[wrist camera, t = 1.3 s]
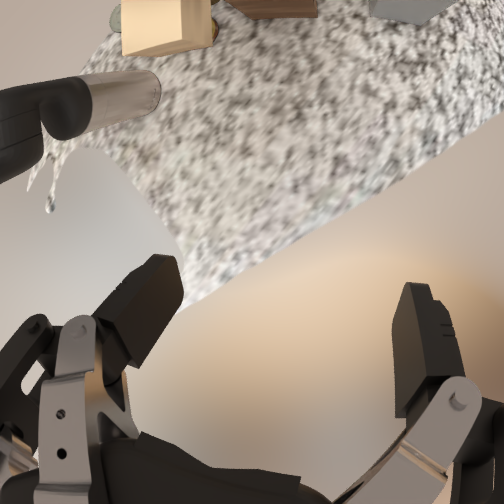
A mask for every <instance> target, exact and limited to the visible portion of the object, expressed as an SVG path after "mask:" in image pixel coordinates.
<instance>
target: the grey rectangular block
mask: <svg viewBox="0 0 504 504" xmlns="http://www.w3.org/2000/svg"><path fill="white" fill-rule="evenodd" d="M458 1H459V0H369V8H370V17H377V18H384V19H390V20H395V21H400V22H405V23H410V24H415V25H419V26H421V25H422V24H424V23H425V22H427V21H428V20H430V19H431V18H433V17H434V16H436V15H437V14H439V13H440V12H442V11H443V10H445V9H446V8H448V7H450V6H451V5H453V4H454V3H456V2H458Z"/></svg>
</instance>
